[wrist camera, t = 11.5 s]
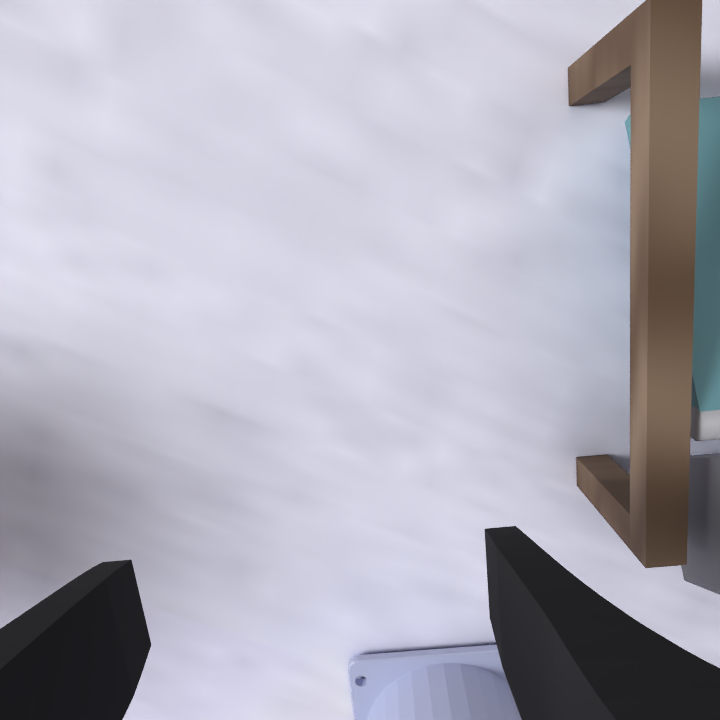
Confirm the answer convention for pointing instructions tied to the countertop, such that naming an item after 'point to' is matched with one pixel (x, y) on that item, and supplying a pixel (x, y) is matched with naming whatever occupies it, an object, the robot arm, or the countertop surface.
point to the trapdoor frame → (653, 270)
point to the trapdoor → (705, 358)
